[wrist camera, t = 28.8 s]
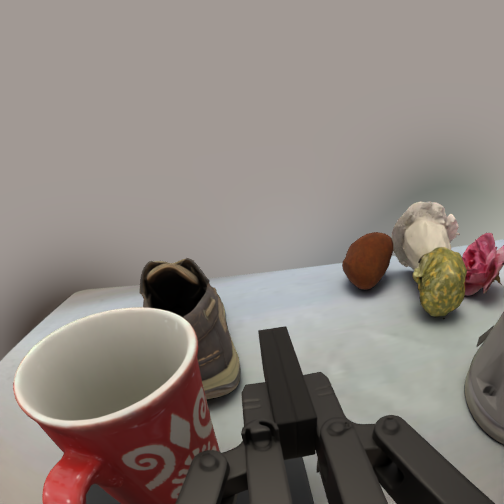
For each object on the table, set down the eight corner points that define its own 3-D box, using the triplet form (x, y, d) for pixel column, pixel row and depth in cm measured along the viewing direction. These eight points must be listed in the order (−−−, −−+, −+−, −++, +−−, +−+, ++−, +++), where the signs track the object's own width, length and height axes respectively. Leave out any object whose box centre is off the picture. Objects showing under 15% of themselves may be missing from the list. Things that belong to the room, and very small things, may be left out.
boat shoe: (207, 286, 52) (197, 228, 49) (278, 389, 26) (268, 290, 22) (149, 300, 49) (135, 242, 45) (168, 422, 22) (128, 326, 19)
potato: (374, 306, 40) (334, 296, 46) (404, 262, 45) (367, 257, 52) (364, 265, 37) (321, 259, 44) (396, 223, 42) (357, 222, 49)
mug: (139, 444, 19) (70, 307, 15) (245, 448, 19) (210, 299, 15) (101, 564, 7) (-58, 449, 3) (241, 591, 7) (142, 562, 3)
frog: (380, 255, 48) (381, 324, 34) (405, 190, 41) (424, 238, 27) (435, 275, 46) (452, 346, 31) (464, 214, 39) (502, 270, 24)
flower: (454, 317, 35) (434, 257, 38) (476, 299, 39) (459, 248, 42) (514, 295, 25) (490, 225, 28) (526, 278, 29) (506, 220, 32)
